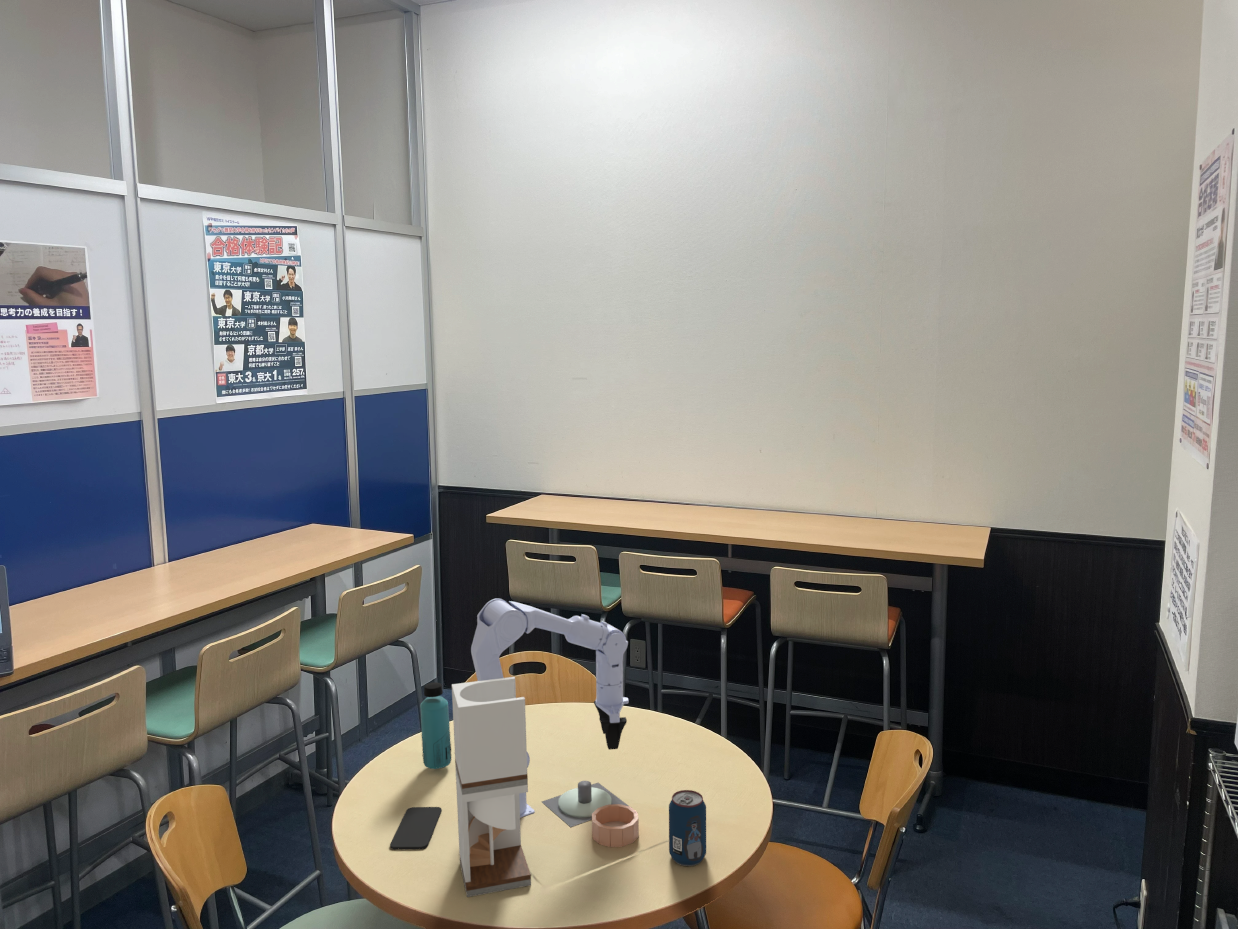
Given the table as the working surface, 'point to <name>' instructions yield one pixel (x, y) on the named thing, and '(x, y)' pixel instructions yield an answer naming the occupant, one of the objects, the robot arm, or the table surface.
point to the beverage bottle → (435, 728)
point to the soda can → (687, 828)
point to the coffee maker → (490, 784)
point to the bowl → (615, 825)
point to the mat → (574, 821)
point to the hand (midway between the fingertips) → (610, 740)
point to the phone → (416, 828)
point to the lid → (583, 800)
